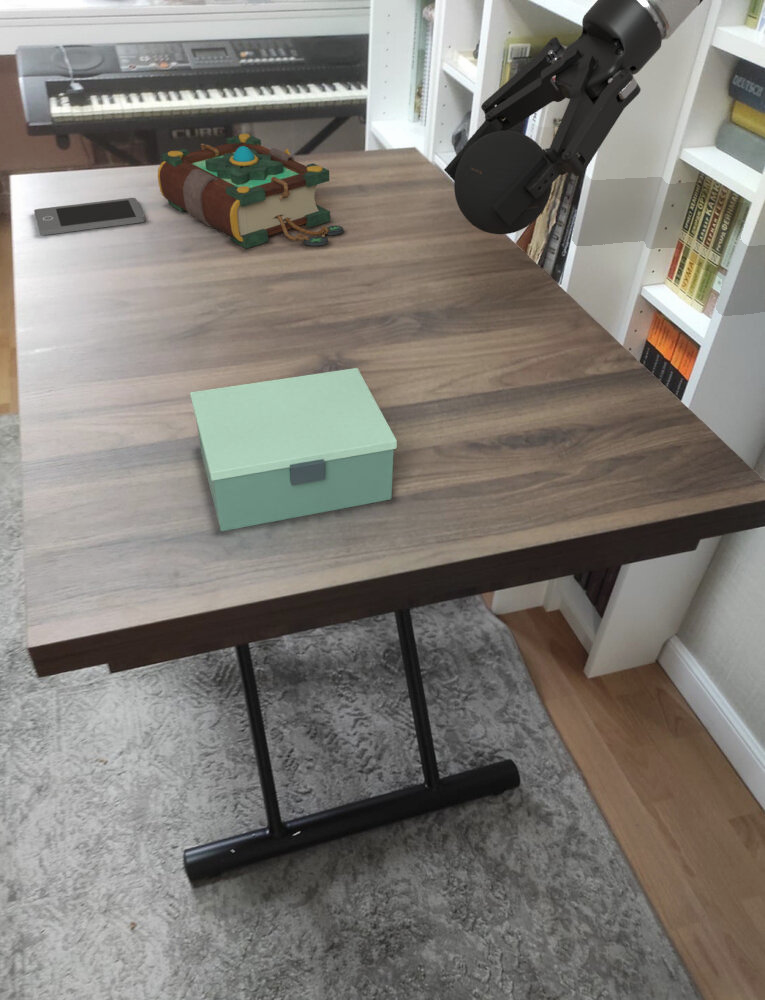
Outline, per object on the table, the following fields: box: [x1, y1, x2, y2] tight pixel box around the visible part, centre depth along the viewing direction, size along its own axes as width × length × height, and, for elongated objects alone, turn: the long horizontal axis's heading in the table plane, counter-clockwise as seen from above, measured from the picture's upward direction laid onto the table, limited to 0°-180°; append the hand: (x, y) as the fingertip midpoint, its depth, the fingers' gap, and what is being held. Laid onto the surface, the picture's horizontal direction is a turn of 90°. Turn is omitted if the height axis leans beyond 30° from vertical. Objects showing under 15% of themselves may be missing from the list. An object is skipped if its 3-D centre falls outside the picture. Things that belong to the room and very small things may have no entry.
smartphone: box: [33, 197, 146, 236], centre depth 124 cm, size 15×8×1 cm, turn 113°
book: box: [157, 133, 344, 249], centre depth 123 cm, size 27×21×10 cm
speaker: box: [453, 130, 553, 235], centre depth 86 cm, size 10×10×10 cm
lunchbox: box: [189, 367, 398, 532], centre depth 78 cm, size 16×13×7 cm
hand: (475, 197), depth 86 cm, fingers closed on speaker, 10 cm apart
